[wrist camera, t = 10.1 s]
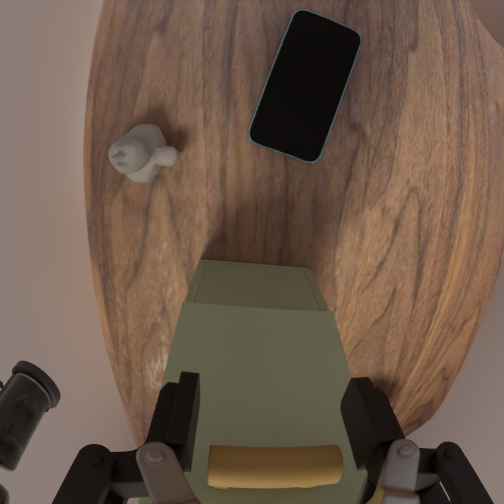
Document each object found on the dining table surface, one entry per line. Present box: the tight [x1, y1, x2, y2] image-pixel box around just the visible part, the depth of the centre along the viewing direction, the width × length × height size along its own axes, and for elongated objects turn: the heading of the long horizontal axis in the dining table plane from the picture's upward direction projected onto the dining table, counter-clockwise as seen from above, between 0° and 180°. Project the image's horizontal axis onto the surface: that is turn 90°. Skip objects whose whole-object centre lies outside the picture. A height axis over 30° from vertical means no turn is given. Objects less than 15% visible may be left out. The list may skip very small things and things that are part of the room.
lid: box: [139, 301, 367, 504], centre depth 15 cm, size 15×12×5 cm
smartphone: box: [248, 9, 362, 163], centre depth 24 cm, size 7×1×15 cm
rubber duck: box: [108, 124, 180, 183], centre depth 23 cm, size 5×7×8 cm
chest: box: [185, 259, 329, 311], centre depth 30 cm, size 15×12×9 cm
